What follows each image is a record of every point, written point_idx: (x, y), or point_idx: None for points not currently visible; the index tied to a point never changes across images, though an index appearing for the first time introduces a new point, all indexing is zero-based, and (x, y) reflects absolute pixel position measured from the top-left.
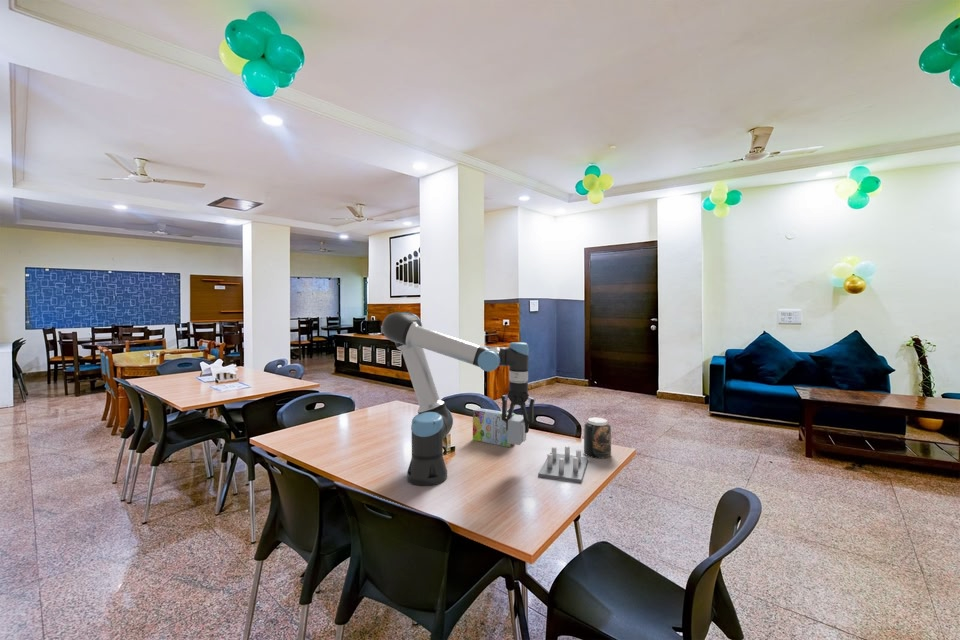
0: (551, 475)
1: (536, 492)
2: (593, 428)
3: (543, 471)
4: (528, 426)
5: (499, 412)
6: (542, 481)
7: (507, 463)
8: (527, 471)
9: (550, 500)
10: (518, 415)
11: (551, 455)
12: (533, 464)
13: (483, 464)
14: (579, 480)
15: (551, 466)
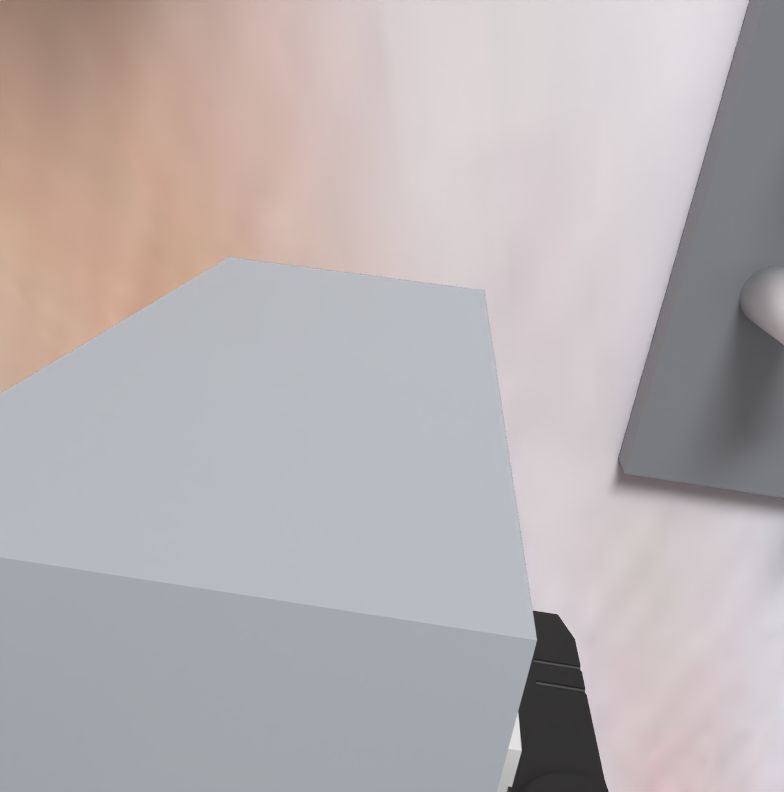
0: (758, 492)
1: (599, 705)
2: None
3: (682, 421)
4: (586, 771)
5: None
6: (654, 543)
7: (266, 195)
8: (508, 364)
9: (692, 783)
10: (53, 684)
11: None
12: (566, 147)
13: (50, 286)
14: None
15: None
